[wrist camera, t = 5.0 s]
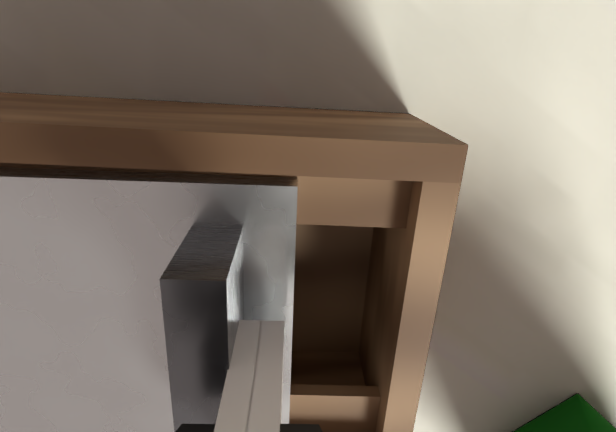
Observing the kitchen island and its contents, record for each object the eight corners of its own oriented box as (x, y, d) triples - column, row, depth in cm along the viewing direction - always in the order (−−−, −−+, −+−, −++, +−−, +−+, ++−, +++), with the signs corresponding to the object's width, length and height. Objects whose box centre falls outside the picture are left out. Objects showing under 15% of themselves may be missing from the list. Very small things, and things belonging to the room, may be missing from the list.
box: (-44, 90, 18) (-234, 110, 12) (409, 113, 19) (468, 144, 13) (19, 351, 23) (-89, 467, 17) (375, 360, 24) (404, 474, 18)
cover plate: (-243, 158, 13) (-488, 206, 9) (297, 177, 14) (298, 230, 10) (-129, 418, 17) (-263, 534, 13) (288, 423, 18) (286, 534, 14)
